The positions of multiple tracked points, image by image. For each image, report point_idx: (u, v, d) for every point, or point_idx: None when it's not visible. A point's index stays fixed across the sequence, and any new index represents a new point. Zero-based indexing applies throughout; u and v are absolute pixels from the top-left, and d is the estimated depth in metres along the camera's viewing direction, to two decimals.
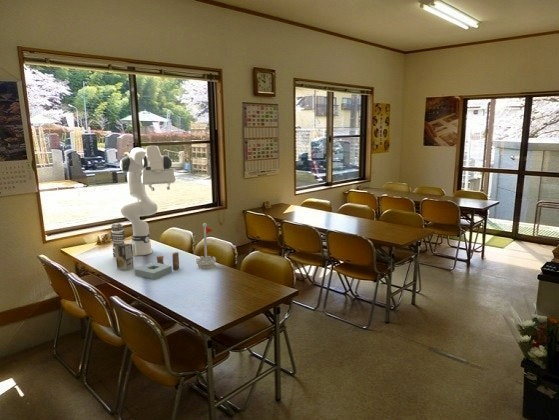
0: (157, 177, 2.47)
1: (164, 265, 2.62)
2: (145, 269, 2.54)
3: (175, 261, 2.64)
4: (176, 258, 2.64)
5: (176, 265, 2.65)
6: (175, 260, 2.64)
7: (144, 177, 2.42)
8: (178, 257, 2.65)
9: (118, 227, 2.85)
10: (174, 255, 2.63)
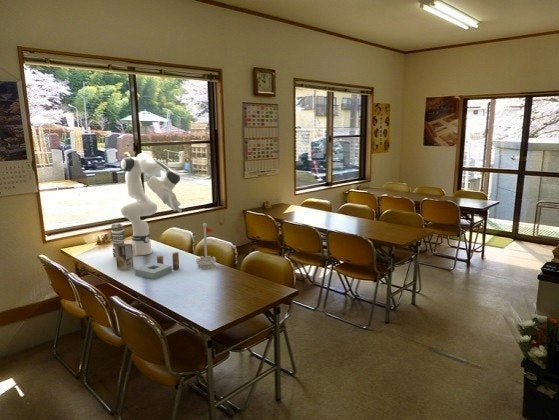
0: (170, 202, 2.63)
1: (164, 265, 2.62)
2: (145, 269, 2.54)
3: (175, 261, 2.64)
4: (176, 258, 2.64)
5: (176, 265, 2.65)
6: (175, 260, 2.64)
7: (171, 207, 2.70)
8: (178, 257, 2.65)
9: (118, 227, 2.85)
10: (174, 255, 2.63)
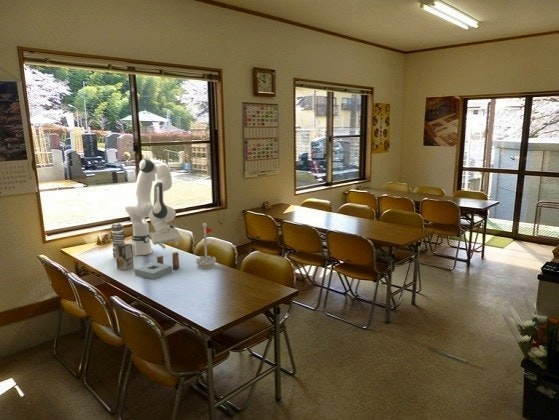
0: None
1: (164, 265, 2.62)
2: (145, 269, 2.54)
3: (175, 261, 2.64)
4: (176, 258, 2.64)
5: (176, 265, 2.65)
6: (175, 260, 2.64)
7: None
8: (178, 257, 2.65)
9: (118, 227, 2.85)
10: (174, 255, 2.63)
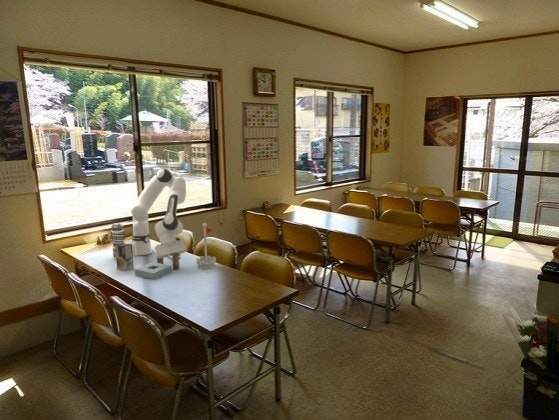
0: None
1: (164, 265, 2.62)
2: (145, 269, 2.54)
3: (175, 261, 2.64)
4: (176, 258, 2.64)
5: (176, 265, 2.65)
6: (175, 260, 2.64)
7: None
8: (178, 257, 2.65)
9: (118, 227, 2.85)
10: (174, 255, 2.63)
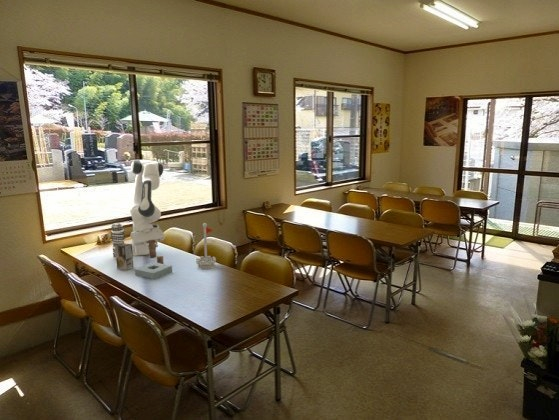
0: None
1: (164, 265, 2.62)
2: (145, 269, 2.54)
3: (151, 248, 2.54)
4: (153, 245, 2.54)
5: (153, 253, 2.55)
6: (152, 247, 2.54)
7: None
8: (155, 244, 2.55)
9: (118, 227, 2.85)
10: (150, 242, 2.53)
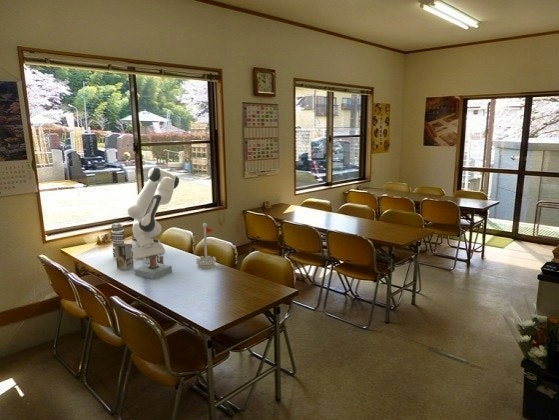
0: None
1: (164, 265, 2.62)
2: (145, 269, 2.54)
3: (152, 265, 2.56)
4: (153, 262, 2.56)
5: None
6: (152, 264, 2.56)
7: None
8: None
9: (118, 227, 2.85)
10: (151, 259, 2.55)
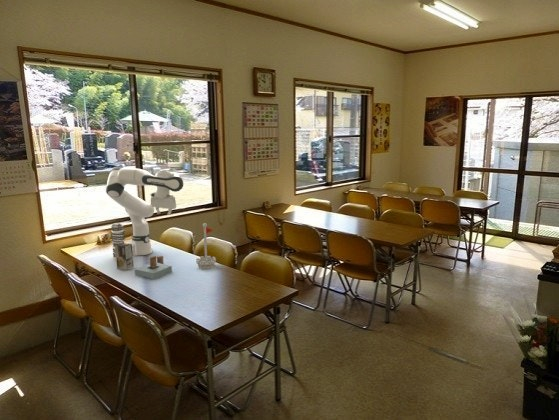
0: (160, 203, 2.72)
1: (164, 265, 2.62)
2: (145, 269, 2.54)
3: (152, 265, 2.56)
4: (153, 262, 2.56)
5: None
6: (152, 264, 2.56)
7: (151, 202, 2.76)
8: None
9: (118, 227, 2.85)
10: (151, 259, 2.55)
